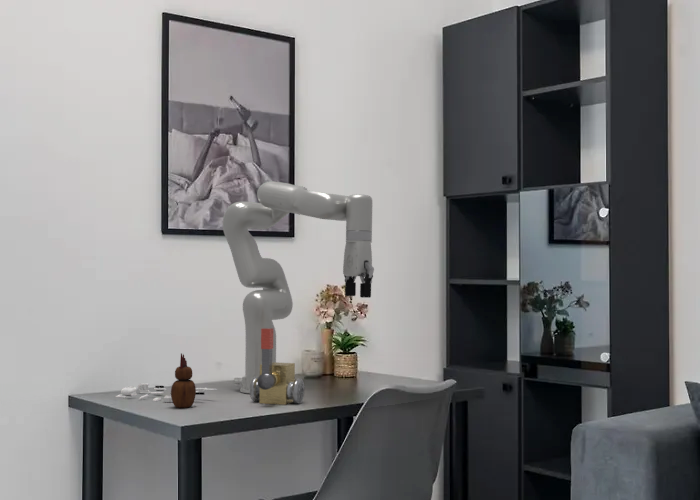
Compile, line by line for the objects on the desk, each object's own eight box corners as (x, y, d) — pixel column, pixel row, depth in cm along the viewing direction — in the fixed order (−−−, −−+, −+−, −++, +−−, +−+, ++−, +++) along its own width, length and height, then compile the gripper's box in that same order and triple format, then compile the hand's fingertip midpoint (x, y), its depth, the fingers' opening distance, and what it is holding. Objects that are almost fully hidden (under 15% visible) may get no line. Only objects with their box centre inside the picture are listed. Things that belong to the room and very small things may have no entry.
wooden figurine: (182, 409, 242) (183, 354, 242) (166, 407, 245) (167, 353, 245) (199, 406, 248) (200, 352, 248) (183, 404, 251) (184, 351, 251)
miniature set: (221, 398, 259) (195, 410, 249) (131, 396, 277) (103, 407, 266) (218, 376, 259) (191, 387, 248) (128, 376, 276) (99, 386, 266)
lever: (257, 389, 248) (257, 328, 248) (261, 387, 251) (262, 328, 251) (272, 390, 247) (272, 329, 247) (276, 388, 250) (276, 328, 250)
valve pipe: (245, 404, 252) (246, 365, 253) (259, 399, 262) (259, 361, 262) (292, 406, 248) (292, 366, 249) (304, 401, 258) (304, 363, 258)
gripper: (334, 237, 265) (333, 295, 264) (360, 236, 249) (359, 298, 249) (357, 238, 268) (356, 295, 268) (384, 237, 252) (383, 298, 252)
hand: (357, 296), depth 258 cm, fingers open, 9 cm apart
